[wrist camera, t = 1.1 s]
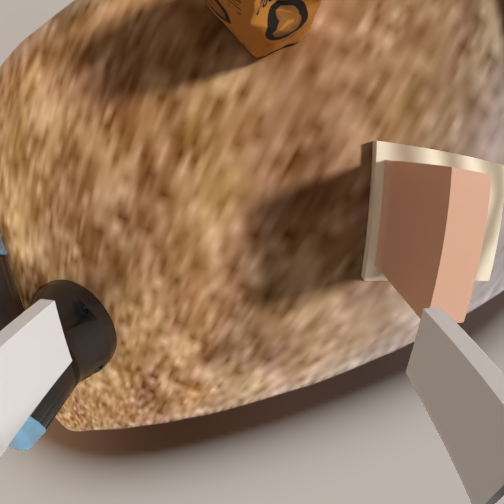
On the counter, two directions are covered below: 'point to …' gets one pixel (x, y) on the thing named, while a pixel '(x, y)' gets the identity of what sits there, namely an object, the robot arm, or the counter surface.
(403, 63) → the counter surface
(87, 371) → the robot arm
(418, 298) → the salmon pink block
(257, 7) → the coffee package
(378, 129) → the counter surface
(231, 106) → the counter surface
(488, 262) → the birch board
